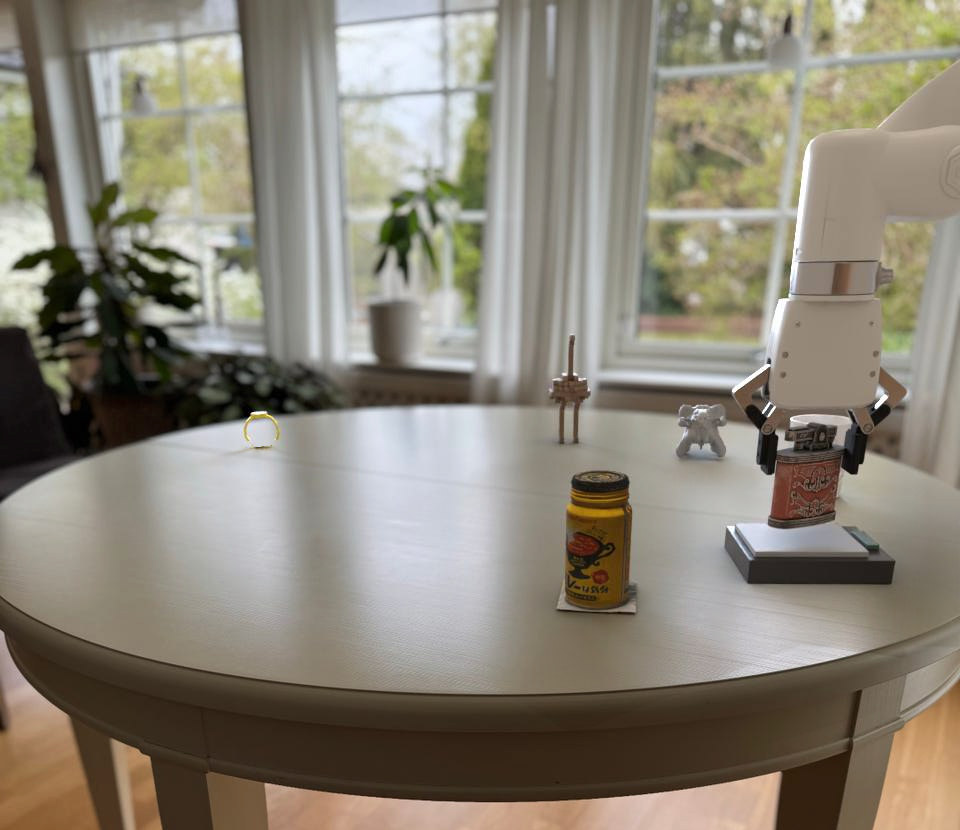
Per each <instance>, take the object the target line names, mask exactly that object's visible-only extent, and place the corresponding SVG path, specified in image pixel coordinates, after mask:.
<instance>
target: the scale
mask: <svg viewBox="0 0 960 830" xmlns="http://www.w3.org/2000/svg"><path fill="white" fill-rule="evenodd" d="M767 524H768V522H765V523H764V522H763V523H759V522H757V523H755V522H754V523H752V522H751V523H748V522H745V523H743V522H741V523H740V522H738V523H734V525H727V526H726V527H725V537H724V538H725V539H724V548H725V550H726V551H727V553H728V555H729V556H730V558H731V559H732V561H733V563H734V564H735V566H736V568H737V569H738V571H739V572H740V573H741V575H742V577H743V579H744V580H745V582H746V583H747V584H843V585H846V584H850V585H851V584H854V585H855V584H857V585H858V584H859V585H860V584H861V585H863V584H864V585H865V584H866V585H870V584H873V585H887V584H888V585H891V584H892V583H893V578H894V573H895V567H896V560H895V559H894V558H893V557H892V556H891V555H890V554H888V553H887V552H886V551H885V550H883V549H882V548H881V547H880V544H879V543H877V541H876V540H874V539H873V538H872V537H871V536H870V535H869V534H868V533H866V532H865V531H864V530H861V529H859V528H858V527H857V525H856V526H855V525H840V524H839V523H831V522H828V523H825V524H820V525H816V526H810V527H803V528H795V529H776V528H772V527H769V526H768V525H767Z"/></svg>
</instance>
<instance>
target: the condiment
mask: <svg viewBox="0 0 960 830" xmlns="http://www.w3.org/2000/svg"><path fill="white" fill-rule="evenodd" d="M570 484H571V487H570V488H571V489H570V493H569V496H570V499H571V500H570V502H569V503H568V504H567V506H566V513H565V544H564V545H565V548H564V552H565V562H564V567H565V569H564V578H563V581H562V583H561V584H562V586H561V589H560V593H559V597H558V602H557V604H556V605H557V606H556V610H567V611H568V610H569V611H578V612H594V613H595V612H598V613H618V612H621V613H637V596H638V595H637V592H638V591H637V590H638V580H637V579H635V580H632V579H631V580H630V571H631V570H630V569H631V568H630V567H631V547H632V531H633V530H632V527H633V508H632V506H631V505H632V504H630V502H629V499H630V491H629V489H630V478H629V476H628V475H627V474H626V473H623V472H619V471H615V470H586V471H581V472H578V473H577V472H576V473H575V474H574V475H572V477H571V481H570Z"/></svg>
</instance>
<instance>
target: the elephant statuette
mask: <svg viewBox="0 0 960 830" xmlns="http://www.w3.org/2000/svg"><path fill="white" fill-rule="evenodd" d="M726 415H727V412H726V408H725V406H724V405H723V404H720V403H719V404H718V403H717V404H713V405H712V406H710V405H708V404H697V405H695V406H692V405H690V404H682V406H680V408H679V410H678V421H677V425H678V427H681V428H684V431H683V434H682V438H681V439H680V441H679V443H678V444H677V446H676V447H675V454H676V456H677V458H679V459H681V458H684V457H685V455H686V453H689V452H690V450H691V446H692V445H693V444H696V445H698V447H699V450H701V451H702V450H703V446H704V445H707V444H709V445H710V450H711V452H713V453H714V454H716V455H717V457H718V458H724V457H725V456H726V454H727V446H726V445H725V443H724V440H723V438H722V437H721V435H720V431H719V427H720V428H722V427H726V425H727V423H728V421H727V419H726Z"/></svg>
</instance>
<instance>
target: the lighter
mask: <svg viewBox="0 0 960 830" xmlns="http://www.w3.org/2000/svg"><path fill="white" fill-rule="evenodd" d="M837 427H838V426H836V425H825V424H821V423H816V422H810V423H808V424H807V426H798V427H790V426H789V427H787V429H785V431H784V438H783V439H784V440H783V441H785V442H788V443H789V442H794V447H793V448H788V447H787V448H783V449H777V455H776V465H775V473H774V480H773V488H772V489H773V490H772V496H771V506H770V514H769V515H768V517H767V523H768V524H767V525H768V526H769V527H772V528H776V529H795V528H803V527H810V526H816V525H820V524H825V523H831V522H834V521H836V515H837V510H836V502H837V498H836V495H837V488H838V481H839V474H840V467H841V460H842V456H843V455H844V453H845V447H844V446H841V445H836V444H832V443H833V441H834V439H835V436H836V434H837Z"/></svg>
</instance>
